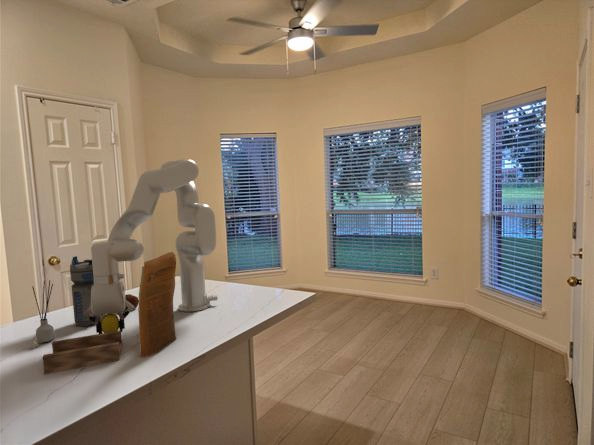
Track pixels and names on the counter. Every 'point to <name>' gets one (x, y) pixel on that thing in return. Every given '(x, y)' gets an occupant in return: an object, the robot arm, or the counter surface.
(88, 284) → the beverage bottle
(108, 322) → the lemon
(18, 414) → the counter surface
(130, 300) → the potato
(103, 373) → the counter surface
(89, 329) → the counter surface
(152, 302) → the pancake mix bag
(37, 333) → the reed diffuser
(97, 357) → the u rest
